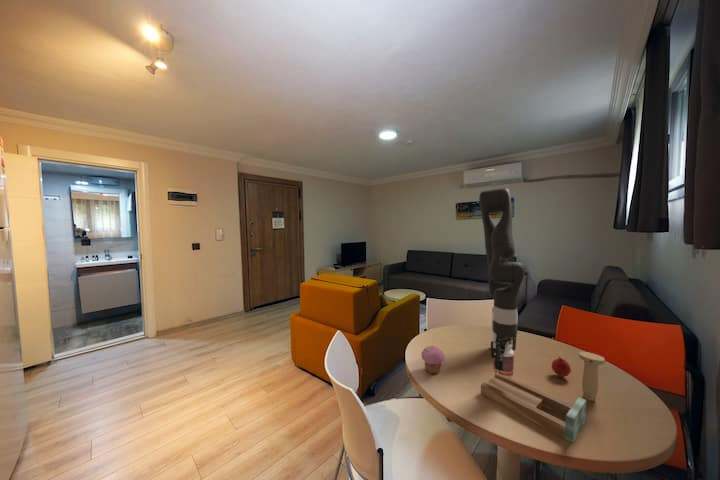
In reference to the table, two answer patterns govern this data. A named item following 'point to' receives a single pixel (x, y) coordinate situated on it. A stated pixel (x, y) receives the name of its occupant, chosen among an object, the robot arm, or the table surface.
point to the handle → (590, 374)
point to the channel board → (537, 405)
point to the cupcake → (432, 358)
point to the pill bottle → (506, 364)
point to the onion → (561, 367)
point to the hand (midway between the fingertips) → (503, 366)
